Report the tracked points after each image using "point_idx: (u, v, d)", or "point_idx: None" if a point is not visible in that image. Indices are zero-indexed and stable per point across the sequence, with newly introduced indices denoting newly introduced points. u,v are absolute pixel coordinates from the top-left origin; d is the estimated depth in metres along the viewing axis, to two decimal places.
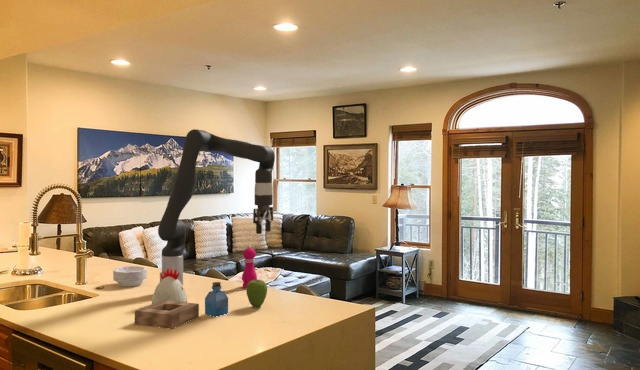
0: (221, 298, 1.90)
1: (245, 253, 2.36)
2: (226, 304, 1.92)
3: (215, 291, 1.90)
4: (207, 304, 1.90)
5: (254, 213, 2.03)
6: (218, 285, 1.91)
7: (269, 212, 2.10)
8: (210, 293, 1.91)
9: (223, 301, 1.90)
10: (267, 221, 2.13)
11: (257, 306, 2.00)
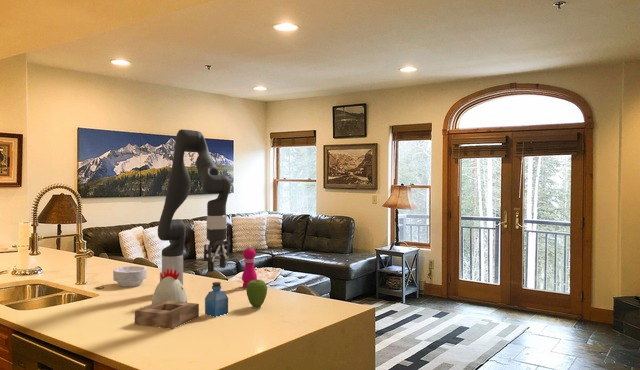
0: (221, 298, 1.90)
1: (245, 253, 2.36)
2: (226, 304, 1.92)
3: (215, 291, 1.90)
4: (207, 304, 1.90)
5: (205, 249, 1.85)
6: (218, 285, 1.91)
7: (223, 247, 1.92)
8: (210, 293, 1.91)
9: (223, 301, 1.90)
10: (222, 256, 1.95)
11: (257, 306, 2.00)
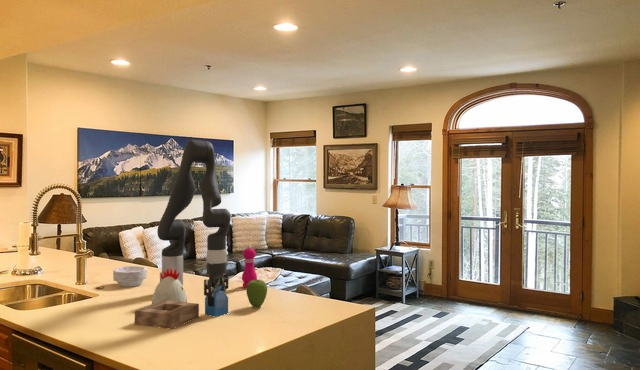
0: (221, 298, 1.90)
1: (245, 253, 2.36)
2: (226, 304, 1.92)
3: (215, 291, 1.90)
4: (207, 304, 1.90)
5: (205, 285, 1.85)
6: (218, 285, 1.91)
7: (223, 281, 1.92)
8: None
9: (223, 301, 1.90)
10: (221, 290, 1.95)
11: (257, 306, 2.00)
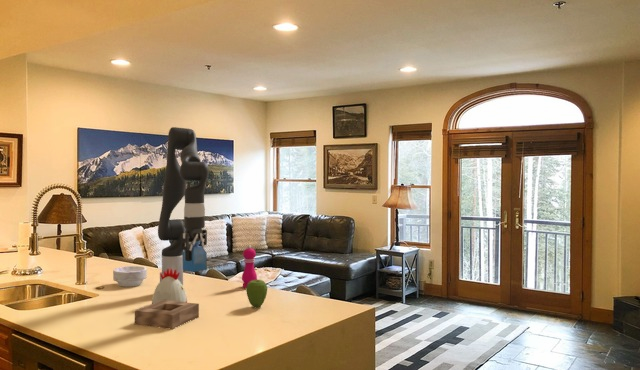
0: (199, 253, 1.85)
1: (245, 253, 2.36)
2: (204, 259, 1.87)
3: (193, 246, 1.86)
4: None
5: (182, 238, 1.81)
6: (196, 240, 1.86)
7: (201, 236, 1.88)
8: None
9: (201, 256, 1.86)
10: None
11: (257, 306, 2.00)
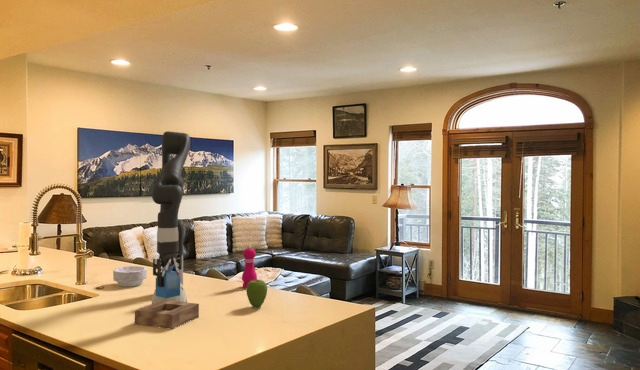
0: (172, 278, 1.80)
1: (245, 253, 2.36)
2: (178, 285, 1.82)
3: (166, 271, 1.81)
4: None
5: (154, 264, 1.76)
6: (169, 265, 1.81)
7: (174, 260, 1.83)
8: None
9: (174, 282, 1.81)
10: None
11: (257, 306, 2.00)
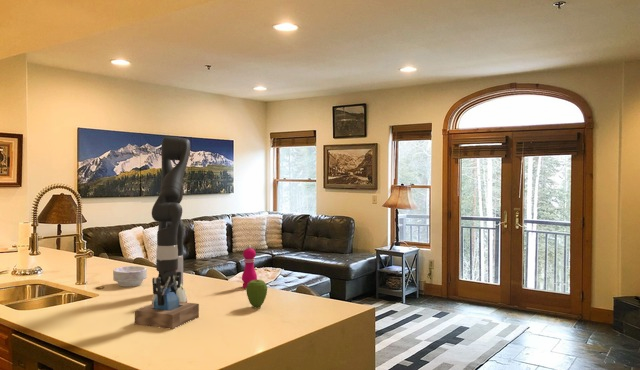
0: (172, 299, 1.81)
1: (245, 253, 2.36)
2: (177, 305, 1.83)
3: (165, 292, 1.81)
4: (157, 307, 1.80)
5: (153, 283, 1.76)
6: (168, 286, 1.82)
7: (174, 278, 1.83)
8: None
9: (174, 302, 1.82)
10: (172, 289, 1.86)
11: (257, 306, 2.00)
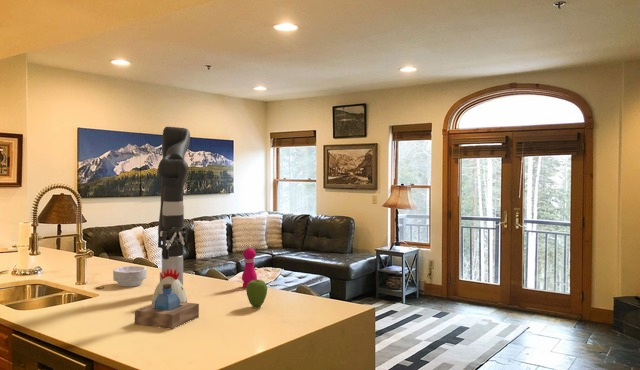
0: (173, 300, 1.81)
1: (245, 253, 2.36)
2: (178, 306, 1.83)
3: (166, 293, 1.81)
4: (158, 308, 1.80)
5: (159, 236, 1.79)
6: (169, 287, 1.82)
7: (180, 234, 1.86)
8: (161, 296, 1.81)
9: (175, 303, 1.82)
10: (179, 244, 1.89)
11: (257, 306, 2.00)
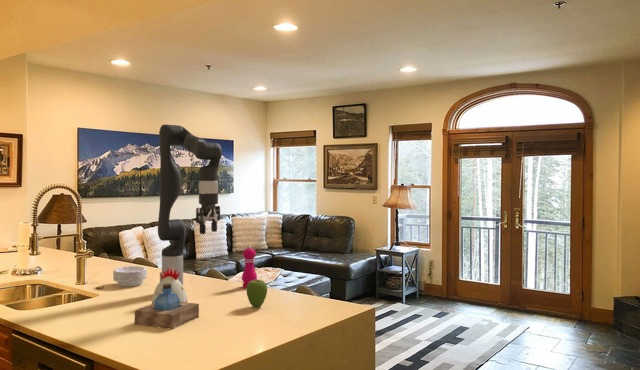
0: (173, 300, 1.81)
1: (245, 253, 2.36)
2: (178, 306, 1.83)
3: (166, 293, 1.81)
4: (158, 308, 1.80)
5: (197, 212, 1.94)
6: (169, 287, 1.82)
7: (214, 211, 2.01)
8: (161, 296, 1.81)
9: (175, 303, 1.82)
10: (213, 221, 2.04)
11: (257, 306, 2.00)
